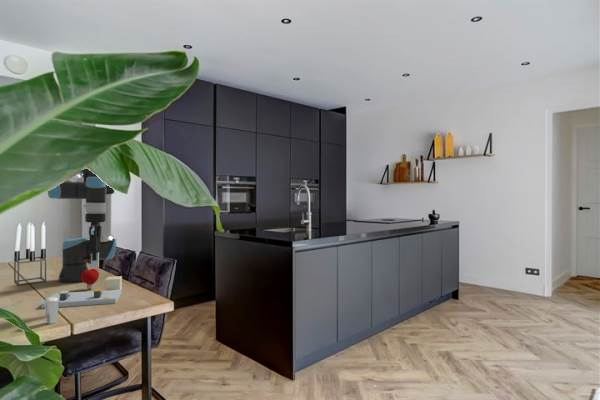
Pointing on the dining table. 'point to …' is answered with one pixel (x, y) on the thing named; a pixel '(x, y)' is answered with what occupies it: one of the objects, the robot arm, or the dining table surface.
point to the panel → (87, 298)
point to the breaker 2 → (97, 293)
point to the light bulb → (90, 277)
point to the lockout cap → (113, 283)
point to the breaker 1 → (63, 295)
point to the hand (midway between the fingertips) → (94, 267)
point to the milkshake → (51, 310)
